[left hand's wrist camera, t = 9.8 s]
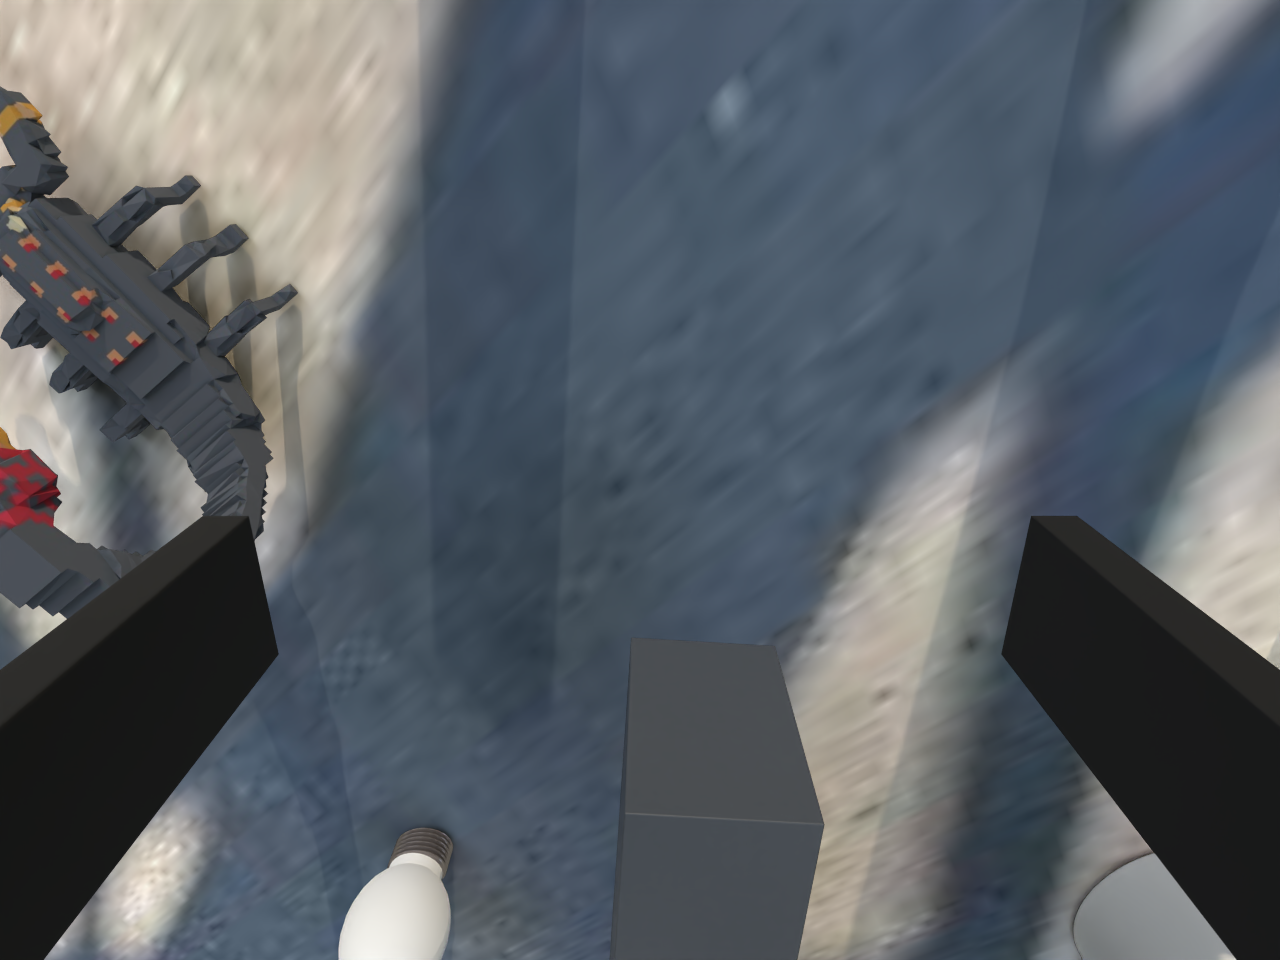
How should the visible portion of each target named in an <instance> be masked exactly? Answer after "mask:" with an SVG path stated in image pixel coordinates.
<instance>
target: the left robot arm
mask: <svg viewBox="0 0 1280 960" xmlns="http://www.w3.org/2000/svg"><path fill="white" fill-rule="evenodd" d="M277 656H278V649H277V645H276V640H275V635H274V631H273V626H272V622H271V617H270V612H269V608H268V603H267V598H266V594H265V589H264V584H263V580H262V575H261V570H260V566H259V561H258V556H257V552H256V547H255V543H254V538H253V533H252V529H251V524H250V519H249V516H202V517H201V518H200V519H198V520H197V521H196V522H195V523H193V524H192V525H191V526H189V527H188V528H187V529H185V530H184V531H183V532H181V533H180V534H179V535H177V536H176V537H175V538H173V539H172V540H171V541H170V542H168V543H167V544H166V545H164V546H163V547H162V548H160V549H159V550H158V551H156V552H155V553H154V554H152V555H151V556H150V557H148V558H147V559H146V560H144V561H143V562H142V563H141V564H139V565H138V566H137V567H135V568H134V569H133V570H131V571H130V572H129V573H127V574H126V575H125V576H123V577H122V578H121V579H119V580H118V581H117V582H116V583H114V584H113V585H112V586H110V587H109V588H108V589H106V590H105V591H104V592H102V593H101V594H100V595H98V596H97V597H96V598H94V599H93V600H92V601H90V602H89V603H88V604H87V605H85V606H84V607H83V608H81V609H80V610H79V611H77V612H76V613H75V614H73V615H72V616H71V617H69V618H68V619H67V620H65V621H64V622H63V623H62V624H60V625H59V626H58V627H56V628H55V629H54V630H52V631H51V632H50V633H48V634H47V635H46V636H44V637H43V638H42V639H40V640H39V641H38V642H36V643H35V644H34V645H33V646H31V647H30V648H29V649H27V650H26V651H25V652H23V653H22V654H21V655H19V656H18V657H17V658H15V659H14V660H13V661H11V662H10V663H9V664H7V665H6V666H5V667H4V668H2V669H1V670H0V960H44V959H45V957H46V956H47V955H48V953H49V952H50V951H51V949H52V948H53V947H54V946H55V944H56V943H57V942H58V940H59V939H60V938H61V936H62V935H63V934H64V933H65V931H66V930H67V929H68V927H69V926H70V925H71V923H72V922H73V921H74V920H75V918H76V917H77V916H78V914H79V913H80V912H81V910H82V909H83V908H84V907H85V905H86V904H87V903H88V901H89V900H90V899H91V897H92V896H93V895H94V894H95V892H96V891H97V890H98V888H99V887H100V886H101V884H102V883H103V882H104V881H105V879H106V878H107V877H108V875H109V874H110V873H111V871H112V870H113V869H114V868H115V866H116V865H117V864H118V862H119V861H120V860H121V858H122V857H123V856H124V855H125V853H126V852H127V851H128V849H129V848H130V847H131V845H132V844H133V843H134V842H135V840H136V839H137V838H138V836H139V835H140V834H141V832H142V831H143V830H144V829H145V827H146V826H147V825H148V823H149V822H150V821H151V819H152V818H153V817H154V816H155V814H156V813H157V812H158V810H159V809H160V808H161V806H162V805H163V804H164V803H165V801H166V800H167V799H168V797H169V796H170V795H171V793H172V792H173V791H174V790H175V788H176V787H177V786H178V784H179V783H180V782H181V780H182V779H183V778H184V777H185V775H186V774H187V773H188V771H189V770H190V769H191V767H192V766H193V765H194V764H195V762H196V761H197V760H198V758H199V757H200V756H201V754H202V753H203V752H204V751H205V749H206V748H207V747H208V745H209V744H210V743H211V741H212V740H213V739H214V738H215V736H216V735H217V734H218V732H219V731H220V730H221V728H222V727H223V726H224V725H225V723H226V722H227V721H228V719H229V718H230V717H231V715H232V714H233V713H234V712H235V710H236V709H237V708H238V706H239V705H240V704H241V702H242V701H243V700H244V699H245V697H246V696H247V695H248V693H249V692H250V691H251V689H252V688H253V687H254V686H255V684H256V683H257V682H258V680H259V679H260V678H261V676H262V675H263V674H264V673H265V671H266V670H267V669H268V667H269V666H270V665H271V663H272V662H273V661H274V660H275V658H276V657H277ZM1002 656H1003V657H1004V658H1005V660H1006V661H1007V662H1008V663H1009V665H1010V666H1011V667H1012V669H1013V670H1014V671H1015V673H1016V674H1017V675H1018V676H1019V678H1020V679H1021V680H1022V682H1023V683H1024V684H1025V686H1026V687H1027V688H1028V689H1029V691H1030V692H1031V693H1032V695H1033V696H1034V697H1035V699H1036V700H1037V701H1038V702H1039V704H1040V705H1041V706H1042V708H1043V709H1044V710H1045V712H1046V713H1047V714H1048V715H1049V717H1050V718H1051V719H1052V721H1053V722H1054V723H1055V725H1056V726H1057V727H1058V728H1059V730H1060V731H1061V732H1062V734H1063V735H1064V736H1065V738H1066V739H1067V740H1068V741H1069V743H1070V744H1071V745H1072V747H1073V748H1074V749H1075V751H1076V752H1077V753H1078V754H1079V756H1080V757H1081V758H1082V760H1083V761H1084V762H1085V764H1086V765H1087V766H1088V767H1089V769H1090V770H1091V771H1092V773H1093V774H1094V775H1095V777H1096V778H1097V779H1098V780H1099V782H1100V783H1101V784H1102V786H1103V787H1104V788H1105V790H1106V791H1107V792H1108V793H1109V795H1110V796H1111V797H1112V799H1113V800H1114V801H1115V803H1116V804H1117V805H1118V806H1119V808H1120V809H1121V810H1122V812H1123V813H1124V814H1125V816H1126V817H1127V818H1128V819H1129V821H1130V822H1131V823H1132V825H1133V826H1134V827H1135V829H1136V830H1137V831H1138V832H1139V834H1140V835H1141V836H1142V838H1143V839H1144V840H1145V842H1146V843H1147V844H1148V845H1149V847H1150V848H1151V849H1152V851H1153V852H1154V853H1155V855H1156V856H1157V857H1158V858H1159V860H1160V861H1161V862H1162V864H1163V865H1164V866H1165V868H1166V869H1167V870H1168V871H1169V873H1170V874H1171V875H1172V877H1173V878H1174V879H1175V881H1176V882H1177V883H1178V884H1179V886H1180V887H1181V888H1182V890H1183V891H1184V892H1185V894H1186V895H1187V896H1188V897H1189V899H1190V900H1191V901H1192V903H1193V904H1194V905H1195V907H1196V908H1197V909H1198V910H1199V912H1200V913H1201V914H1202V916H1203V917H1204V918H1205V920H1206V921H1207V922H1208V923H1209V925H1210V926H1211V927H1212V929H1213V930H1214V931H1215V933H1216V934H1217V935H1218V936H1219V938H1220V939H1221V940H1222V942H1223V943H1224V944H1225V946H1226V947H1227V948H1228V949H1229V951H1230V952H1231V953H1232V955H1233V956H1234V957H1235V959H1236V960H1280V670H1279V669H1278V668H1276V667H1275V666H1274V665H1273V664H1271V663H1270V662H1269V661H1267V660H1266V659H1265V658H1263V657H1262V656H1261V655H1259V654H1258V653H1257V652H1255V651H1254V650H1253V649H1251V648H1250V647H1249V646H1247V645H1246V644H1245V643H1244V642H1242V641H1241V640H1240V639H1238V638H1237V637H1236V636H1234V635H1233V634H1232V633H1230V632H1229V631H1228V630H1226V629H1225V628H1224V627H1222V626H1221V625H1220V624H1218V623H1217V622H1216V621H1215V620H1213V619H1212V618H1211V617H1209V616H1208V615H1207V614H1205V613H1204V612H1203V611H1201V610H1200V609H1199V608H1197V607H1196V606H1195V605H1193V604H1192V603H1191V602H1190V601H1188V600H1187V599H1186V598H1184V597H1183V596H1182V595H1180V594H1179V593H1178V592H1176V591H1175V590H1174V589H1172V588H1171V587H1170V586H1168V585H1167V584H1166V583H1164V582H1163V581H1162V580H1161V579H1159V578H1158V577H1157V576H1155V575H1154V574H1153V573H1151V572H1150V571H1149V570H1147V569H1146V568H1145V567H1143V566H1142V565H1141V564H1139V563H1138V562H1137V561H1136V560H1134V559H1133V558H1132V557H1130V556H1129V555H1128V554H1126V553H1125V552H1124V551H1122V550H1121V549H1120V548H1118V547H1117V546H1116V545H1114V544H1113V543H1112V542H1110V541H1109V540H1108V539H1107V538H1105V537H1104V536H1103V535H1101V534H1100V533H1099V532H1097V531H1096V530H1095V529H1093V528H1092V527H1091V526H1089V525H1088V524H1087V523H1085V522H1084V521H1083V520H1082V519H1080V518H1079V517H1078V516H1031V519H1030V524H1029V529H1028V533H1027V538H1026V543H1025V547H1024V552H1023V556H1022V561H1021V566H1020V570H1019V575H1018V580H1017V584H1016V589H1015V594H1014V598H1013V603H1012V608H1011V612H1010V617H1009V622H1008V626H1007V631H1006V635H1005V640H1004V645H1003V649H1002Z"/></svg>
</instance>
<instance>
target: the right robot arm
mask: <svg viewBox="0 0 1280 960" xmlns="http://www.w3.org/2000/svg"><path fill="white" fill-rule="evenodd" d="M1073 936H1074V941H1075V944H1076V947H1077V949H1078V951H1079V953H1080V955H1081V957H1082V960H1236V959H1235V957H1234V956H1233V955H1232V953H1231V952H1230V951H1229V949H1228V948H1227V947H1226V946H1225V944H1224V943H1223V942H1222V940H1221V939H1220V938H1219V936H1218V935H1217V934H1216V933H1215V931H1214V930H1213V929H1212V927H1211V926H1210V925H1209V923H1208V922H1207V921H1206V920H1205V918H1204V917H1203V916H1202V914H1201V913H1200V912H1199V910H1198V909H1197V908H1196V907H1195V905H1194V904H1193V903H1192V901H1191V900H1190V899H1189V897H1188V896H1187V895H1186V894H1185V892H1184V891H1183V890H1182V888H1181V887H1180V886H1179V884H1178V883H1177V882H1176V881H1175V879H1174V878H1173V877H1172V875H1171V874H1170V873H1169V871H1168V870H1167V869H1166V868H1165V866H1164V865H1163V864H1162V862H1161V861H1160V860H1159V858H1158V857H1157V856H1156V855H1155V853H1152V854H1149V855H1146V856H1144V857H1141V858H1139V859H1136V860H1134V861H1132V862H1130V863H1128V864H1126V865H1124V866H1122V867H1120V868H1119V869H1117V870H1116V871H1114V872H1112V873H1111V874H1110V875H1108V876H1107V877H1106V878H1104V879H1103V880H1102V881H1101V882H1100V883H1098V884H1097V885H1096V886H1095V887H1094V888H1093V889H1092V890H1091V892H1090V893H1089V894H1088V895H1087V896H1086V898H1085V899H1084V901H1083V902H1082V904H1081V906H1080V907H1079V909H1078V912H1077V914H1076V917H1075V921H1074V927H1073Z"/></svg>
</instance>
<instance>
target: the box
mask: <svg viewBox="0 0 1280 960" xmlns="http://www.w3.org/2000/svg"><path fill="white" fill-rule="evenodd" d="M823 829H824V822H823V818H822V814H821V811H820V807H819V804H818V800H817V796H816V793H815V789H814V786H813V782H812V778H811V775H810V771H809V768H808V764H807V760H806V757H805V753H804V750H803V746H802V742H801V739H800V735H799V732H798V728H797V724H796V721H795V717H794V713H793V710H792V706H791V703H790V699H789V695H788V692H787V688H786V685H785V681H784V677H783V674H782V670H781V667H780V663H779V659H778V656H777V652H776V649H775V646H765V645H748V644H731V643H714V642H697V641H680V640H662V639H645V638H631V649H630V664H629V678H628V693H627V708H626V723H625V738H624V753H623V768H622V783H621V798H620V812H619V827H618V842H617V857H616V872H615V887H614V902H613V917H612V932H611V946H610V960H797V958H798V953H799V948H800V943H801V938H802V933H803V928H804V924H805V919H806V914H807V909H808V904H809V899H810V894H811V889H812V884H813V879H814V874H815V869H816V864H817V859H818V854H819V849H820V844H821V839H822V834H823Z"/></svg>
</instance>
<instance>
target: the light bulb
mask: <svg viewBox="0 0 1280 960" xmlns="http://www.w3.org/2000/svg"><path fill="white" fill-rule="evenodd" d="M452 850H453V844H452V841H451V840H450V838H449V837H448V836H447V835H445V834H444V833H442V832H440V831H438V830H435V829H431V828H417V829H412V830H409V831H407V832H405V833H404V834H402V835H401V836H400V837H399V838H398V840H397V842H396V845H395V848H394V850H393V853H392V855H391V858H390V861H389V864H388V867H387V869H386V870H384V871H383V872H381V873H379V874H378V875H376V876H375V877H374V878H373V879H372V880H371V881H370V882H369V883H368V884H367V885H366V886H365V887H364V888H363V889H362V890H361V892H360V893H359V895H358V896H357V897H356V899H355V900H354V902H353V903H352V905H351V907H350V909H349V911H348V913H347V916H346V919H345V922H344V925H343V928H342V931H341V935H340V942H339V960H441V959H442V956H443V954H444V951H445V948H446V945H447V942H448V937H449V932H450V924H451V909H450V904H449V899H448V894H447V892H446V890H445V887H444V885H443V883H442V881H441V880H442V879H443V878H444V876H445V875H446V872H447V868H448V865H449V861H450V857H451V854H452Z"/></svg>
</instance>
